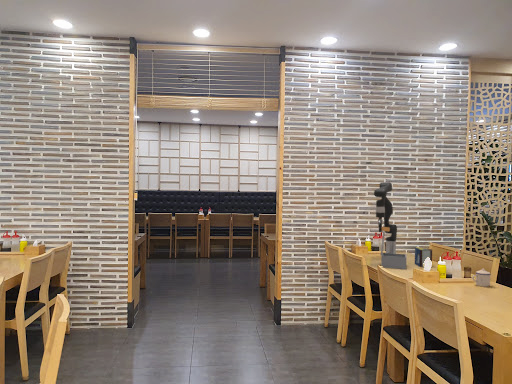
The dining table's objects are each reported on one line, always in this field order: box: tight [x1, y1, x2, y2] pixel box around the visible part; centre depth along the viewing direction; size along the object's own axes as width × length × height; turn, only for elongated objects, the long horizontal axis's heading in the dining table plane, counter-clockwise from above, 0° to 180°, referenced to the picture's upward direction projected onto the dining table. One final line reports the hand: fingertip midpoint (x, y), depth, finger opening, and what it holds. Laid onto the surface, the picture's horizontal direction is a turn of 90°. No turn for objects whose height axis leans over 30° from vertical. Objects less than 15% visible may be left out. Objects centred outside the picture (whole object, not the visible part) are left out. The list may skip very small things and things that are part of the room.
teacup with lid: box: [471, 268, 491, 288], centre depth 282 cm, size 12×9×12 cm
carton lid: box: [380, 226, 390, 256], centre depth 349 cm, size 18×24×8 cm
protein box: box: [414, 246, 433, 268], centre depth 353 cm, size 10×15×16 cm
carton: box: [380, 252, 408, 270], centre depth 346 cm, size 18×20×10 cm
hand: (380, 231), depth 350 cm, fingers closed
